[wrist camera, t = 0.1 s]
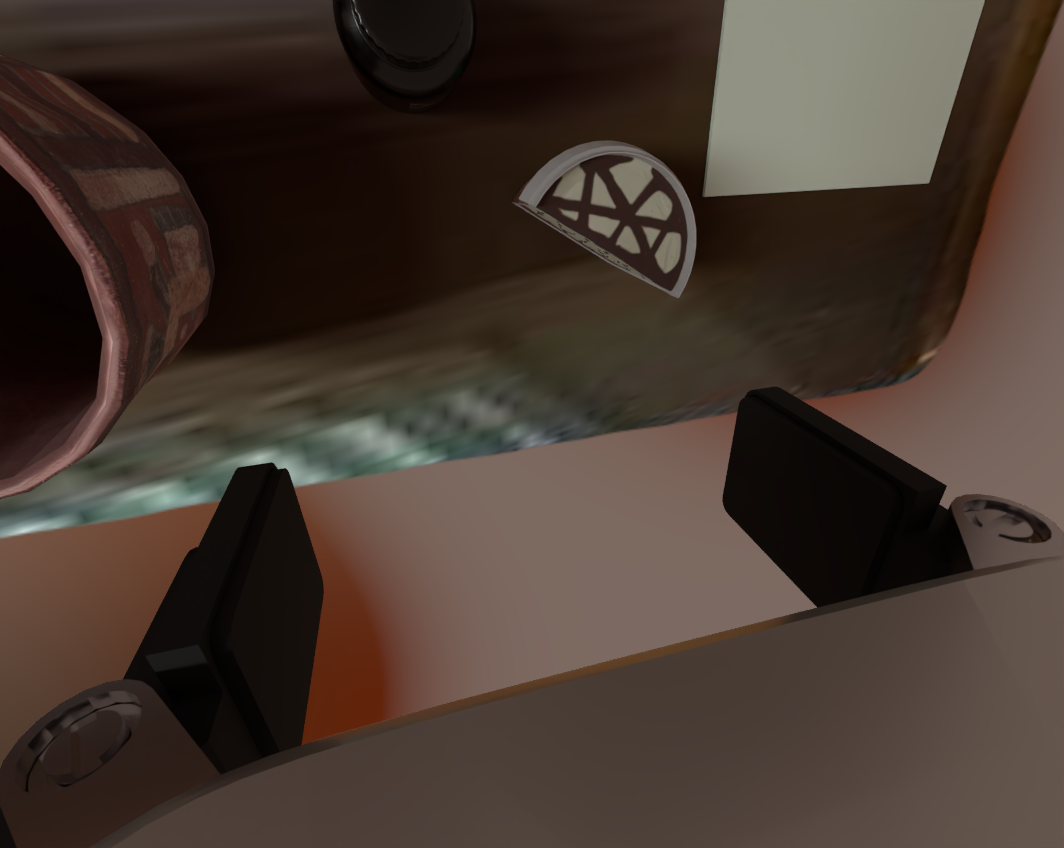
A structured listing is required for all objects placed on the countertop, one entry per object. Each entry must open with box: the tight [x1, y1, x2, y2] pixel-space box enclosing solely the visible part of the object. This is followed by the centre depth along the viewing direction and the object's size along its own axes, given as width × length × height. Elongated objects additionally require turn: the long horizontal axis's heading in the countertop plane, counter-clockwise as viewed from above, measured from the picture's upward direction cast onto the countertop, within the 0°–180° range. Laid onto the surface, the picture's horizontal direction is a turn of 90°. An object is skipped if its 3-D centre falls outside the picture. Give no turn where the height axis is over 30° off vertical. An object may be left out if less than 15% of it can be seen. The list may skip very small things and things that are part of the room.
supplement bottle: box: [333, 0, 476, 113], centre depth 26 cm, size 7×7×12 cm
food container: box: [512, 141, 696, 298], centre depth 34 cm, size 12×6×10 cm, turn 60°
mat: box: [702, 0, 985, 197], centre depth 39 cm, size 16×22×1 cm
